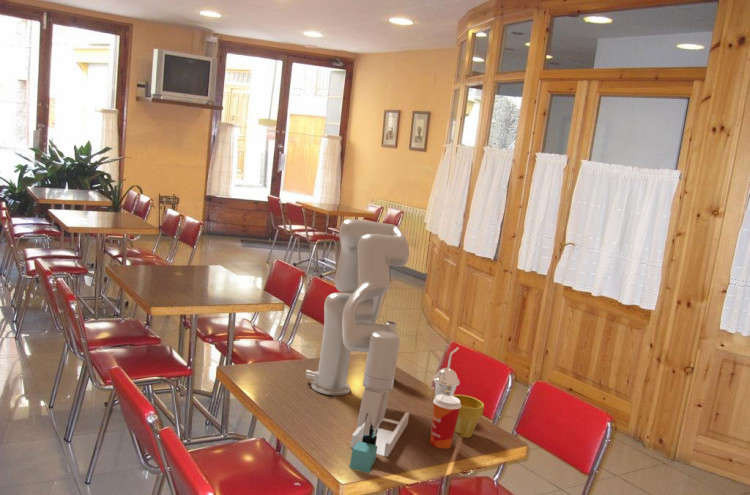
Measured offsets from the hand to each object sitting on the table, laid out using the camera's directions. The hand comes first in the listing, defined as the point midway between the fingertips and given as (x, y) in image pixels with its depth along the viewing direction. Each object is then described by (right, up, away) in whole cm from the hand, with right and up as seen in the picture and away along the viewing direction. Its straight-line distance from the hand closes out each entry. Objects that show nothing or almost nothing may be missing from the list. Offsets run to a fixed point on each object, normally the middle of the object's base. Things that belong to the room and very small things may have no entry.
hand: (367, 450), depth 165 cm
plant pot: (+27, -3, +26) cm, 37 cm away
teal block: (0, 0, -2) cm, 2 cm away
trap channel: (+3, -1, +13) cm, 14 cm away
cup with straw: (+23, 0, +41) cm, 47 cm away
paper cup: (+19, -4, +13) cm, 24 cm away
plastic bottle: (+5, +5, +64) cm, 65 cm away
